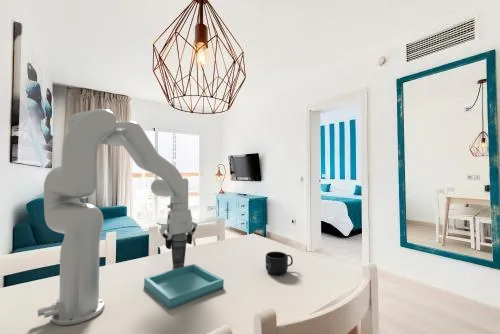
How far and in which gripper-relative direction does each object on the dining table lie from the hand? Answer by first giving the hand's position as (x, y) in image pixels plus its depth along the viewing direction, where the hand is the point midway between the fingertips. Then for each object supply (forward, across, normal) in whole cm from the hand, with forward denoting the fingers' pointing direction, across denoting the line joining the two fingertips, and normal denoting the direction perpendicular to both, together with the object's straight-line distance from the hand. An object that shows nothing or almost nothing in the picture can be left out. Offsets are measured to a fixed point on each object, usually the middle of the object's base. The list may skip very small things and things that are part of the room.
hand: (179, 246), depth 109 cm
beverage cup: (+9, 0, 0) cm, 9 cm away
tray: (+8, -8, -19) cm, 22 cm away
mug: (+9, +28, -33) cm, 44 cm away
